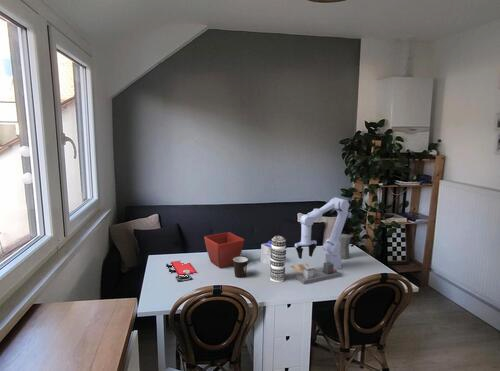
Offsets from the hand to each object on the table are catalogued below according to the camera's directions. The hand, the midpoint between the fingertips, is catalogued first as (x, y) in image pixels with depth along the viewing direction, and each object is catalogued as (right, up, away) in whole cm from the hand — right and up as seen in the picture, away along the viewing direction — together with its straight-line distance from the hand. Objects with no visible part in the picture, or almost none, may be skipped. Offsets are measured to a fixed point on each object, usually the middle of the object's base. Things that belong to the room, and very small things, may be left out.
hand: (305, 257), depth 204 cm
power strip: (+6, -11, -7) cm, 14 cm away
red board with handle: (-74, -9, +2) cm, 75 cm away
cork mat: (0, -9, +6) cm, 11 cm away
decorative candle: (-17, -11, -8) cm, 22 cm away
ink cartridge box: (-21, -7, +15) cm, 27 cm away
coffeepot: (+31, -6, +28) cm, 43 cm away
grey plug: (0, -11, -10) cm, 15 cm away
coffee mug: (-37, -10, -4) cm, 39 cm away
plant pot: (-50, -7, +14) cm, 52 cm away
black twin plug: (+13, -11, -4) cm, 17 cm away
